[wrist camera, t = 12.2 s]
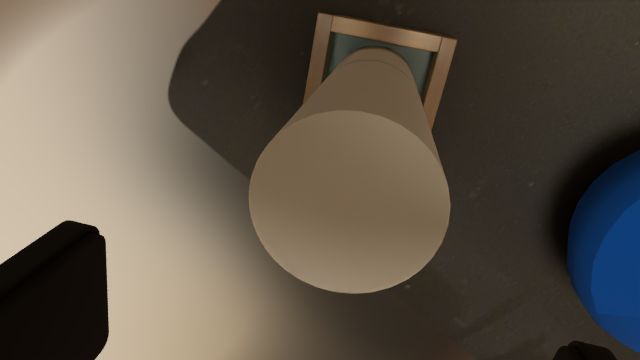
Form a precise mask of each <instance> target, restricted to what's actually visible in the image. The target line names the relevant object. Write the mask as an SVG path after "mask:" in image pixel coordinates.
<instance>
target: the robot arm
mask: <svg viewBox="0 0 640 360" xmlns="http://www.w3.org/2000/svg"><path fill="white" fill-rule="evenodd" d="M105 243H106V242H105V238H104V236H102V235H100V234H99V230H98V229H97V228H96V227H95V226H91V225H87V224H82V223H78V222H74V221H65V222H62V223H61V224H59V225H58V226H56V227H55V228H53V229H52V230H50V231H49V232H47V233H46V234H44V235H43V236H42V237H40V238H39V239H37V240H36V241H34V242H33V243H31V244H30V245H28V246H27V247H26V248H24V249H22V250H21V251H20V252H18V253H17V254H15V255H14V256H12V257H11V258H9V259H8V260H6V261H5V262H4V263H2V264H1V265H0V360H95V358H96V357H97V356H98V355H99V354H100V352H101V351H102V349H103V348H104V346H105V344H106V342H107V338H108V334H109V333H108V332H109V327H108V300H107V299H108V298H107V270H106V244H105ZM553 360H616V358H615V356H614V355H613V353H612V352H611V351H610V350H609V349H607V348H605V347H600V346H596V345H592V344H588V343H584V342H579V341H572V342H571V343H569V345H568V346H562V347H560V348H559V349H558V351H557V353H556V354H555V356H554V358H553Z"/></svg>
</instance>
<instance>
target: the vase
mask: <svg viewBox="0 0 640 360" xmlns="http://www.w3.org/2000/svg"><path fill="white" fill-rule="evenodd" d="M567 268H568V271H569V275H570V279H571V282H572V286H573V288H574V290H575V292H576V293H577V295H578V297H579V298H580V300H581V302H582V303H583V305H584V306H585V308H586V309H587V311H588V312H589V313H590V315H591V316H592V318H593V319H594V321H595V322H596V323H597V325H599V326H600V327H601V328H603V329H604V330H605V331H606V332H608V333H609V334H610V335H612V336H613V337H614V338H615V339H617V340H618V341H620V342H621V343H623V344H624V345H626V346H627V347H629V348H631V349H632V350H635V351H637V352H639V353H640V150H638V151H636V152H634V153H632V154H631V155H629V156H627V157H625V158H623V159H621V160H620V161H618V162H616V163H614V164H613V165H612V166H611V167H609V168H608V169H607V170H606V171H605V172H604V173H602V174H601V175H600V176H599V177H598V178H597V179H595V180H594V181H593V182H592V184H591V185H590V186H589V188H588V189H587V190H586V192H585V193H584V195H583V196H582V197H581V199H580V200H579V201H578V203H577V206H576V209H575V211H574V214H573V216H572V219H571V222H570V226H569V236H568V250H567Z"/></svg>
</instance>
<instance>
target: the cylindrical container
mask: <svg viewBox="0 0 640 360" xmlns="http://www.w3.org/2000/svg"><path fill="white" fill-rule="evenodd" d="M249 206H250V215H251V218H252V222H253V225H254V228H255V231H256V233H257V235H258V237H259V239H260V240H261V242H262V244H263V246H264V247H265V249H266V250H267V251H268V252H269V254H270V255H271V256H272V258H273V259H274V260H275V261H276V262H277V263H278V264H280V265H281V266H282V267H283V268H284V269H285V270H286V271H288V272H289V273H291V274H292V275H294V276H295V277H297V278H298V279H300V280H302V281H304V282H306V283H309V284H311V285H313V286H315V287H318V288H322V289H326V290H329V291H333V292H342V293H353V294H355V293H367V292H375V291H379V290H382V289H386V288H390V287H392V286H395V285H397V284H399V283H401V282H403V281H405V280H407V279H409V278H410V277H411V276H413V275H414V274H416V273H417V272H419V271H420V270H421V269H422V268H423V267H424V266H425V265H426V264H427V263H428V262H429V261H430V260H431V259H432V258H433V256H434V254H435V253H436V251H437V250H438V248H439V247H440V245H441V244H442V241H443V238H444V236H445V233H446V230H447V228H448V223H449V215H450V207H451V206H450V197H449V189H448V184H447V181H446V178H445V175H444V172H443V168H442V165H441V162H440V159H439V156H438V153H437V149H436V146H435V143H434V140H433V137H432V134H431V130H430V127H429V124H428V121H427V118H426V115H425V112H424V108H423V105H422V102H421V99H420V96H419V93H418V90H417V86H416V83H415V80H414V77H413V74H412V71H411V69H410V67H409V65H408V63H407V62H406V60H405V59H404V58H403V57H402V56H401V55H400V54H398V53H397V52H396V51H394V50H392V49H390V48H387V47H383V46H375V45H370V46H365V47H361V48H359V49H357V50H354V51H353V52H351V53H350V54H349V55H347V56H346V57H345V58H344V59H343V60H342V61H341V63H340V64H339V65H338V66H337V67H336V68H335V69H334V70H333V72H332V73H331V74H330V75H329V76H328V77H327V78H326V79H325V81H324V82H323V83H322V84H321V85H320V86H319V87H318V88H317V90H316V91H315V92H314V93H313V94H312V95H311V96H310V97H309V99H308V100H307V101H306V102H305V103H304V104H303V105H302V106H301V108H300V109H299V110H298V111H297V112H296V113H295V114H294V115H293V117H292V118H291V119H290V120H289V121H288V122H287V123H286V124H285V126H284V127H283V128H282V129H281V130H280V131H279V132H278V133H277V135H276V136H275V137H274V138H273V139H272V140H271V141H270V143H269V144H268V145H267V146H266V148H265V149H264V151H263V152H262V154H261V155H260V157H259V158H258V160H257V163H256V165H255V168H254V170H253V173H252V176H251V181H250V188H249Z"/></svg>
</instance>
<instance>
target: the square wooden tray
mask: <svg viewBox="0 0 640 360" xmlns="http://www.w3.org/2000/svg"><path fill="white" fill-rule="evenodd" d="M456 44H457V39H455V38H453V37H451V36H447V35H442V34H437V33H432V32H427V31H422V30H416V29H411V28H406V27H401V26H396V25H391V24H386V23H380V22H375V21H370V20H365V19H360V18H355V17H350V16H345V15H339V14H334V13H329V12H319V13H318V16H317V22H316V29H315V35H314V41H313V47H312V53H311V59H310V65H309V72H308V78H307V84H306V90H305V96H304V102H303V104H304V103H305V102H306V101H307V100H308V99H309V97H310V96H311V95H312V94H313V93H314V92H315V91H316V90H317V88H318V87H319V86H320V85H321V84H322V83H323V82H324V81H325V79H326V78H327V77H328V76H329V75H330V74H331V73H332V72H333V70H334V69H335V68H336V67H337V66H338V65H339V64H340V63H341V61H342V60H343V59H344V58H345V57H346V56H347V55H349V54H350V53H351V52H353V51H354V50H357V49H359V48H361V47H365V46H370V45H375V46H383V47H387V48H390V49H392V50H394V51H396V52H397V53H398V54H400V55H401V56H402V57H403V58H404V59H405V60H406V62H407V63H408V65H409V67H410V69H411V71H412V74H413V77H414V80H415V83H416V86H417V90H418V93H419V96H420V99H421V102H422V105H423V108H424V112H425V115H426V118H427V121H428V124H429V127H430V130H431V131H432V127H433V124H434V120H435V117H436V113H437V110H438V106H439V103H440V100H441V96H442V93H443V89H444V86H445V82H446V79H447V75H448V72H449V68H450V65H451V61H452V58H453V55H454V51H455V48H456Z"/></svg>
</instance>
